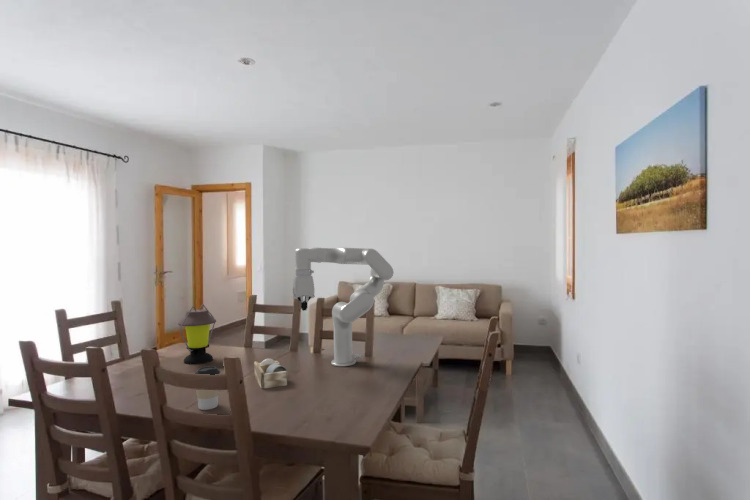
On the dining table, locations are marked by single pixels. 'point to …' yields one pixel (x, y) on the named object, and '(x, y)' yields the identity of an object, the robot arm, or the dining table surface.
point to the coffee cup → (207, 391)
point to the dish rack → (269, 376)
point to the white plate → (267, 362)
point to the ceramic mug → (275, 368)
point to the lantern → (197, 335)
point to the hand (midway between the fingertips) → (304, 310)
